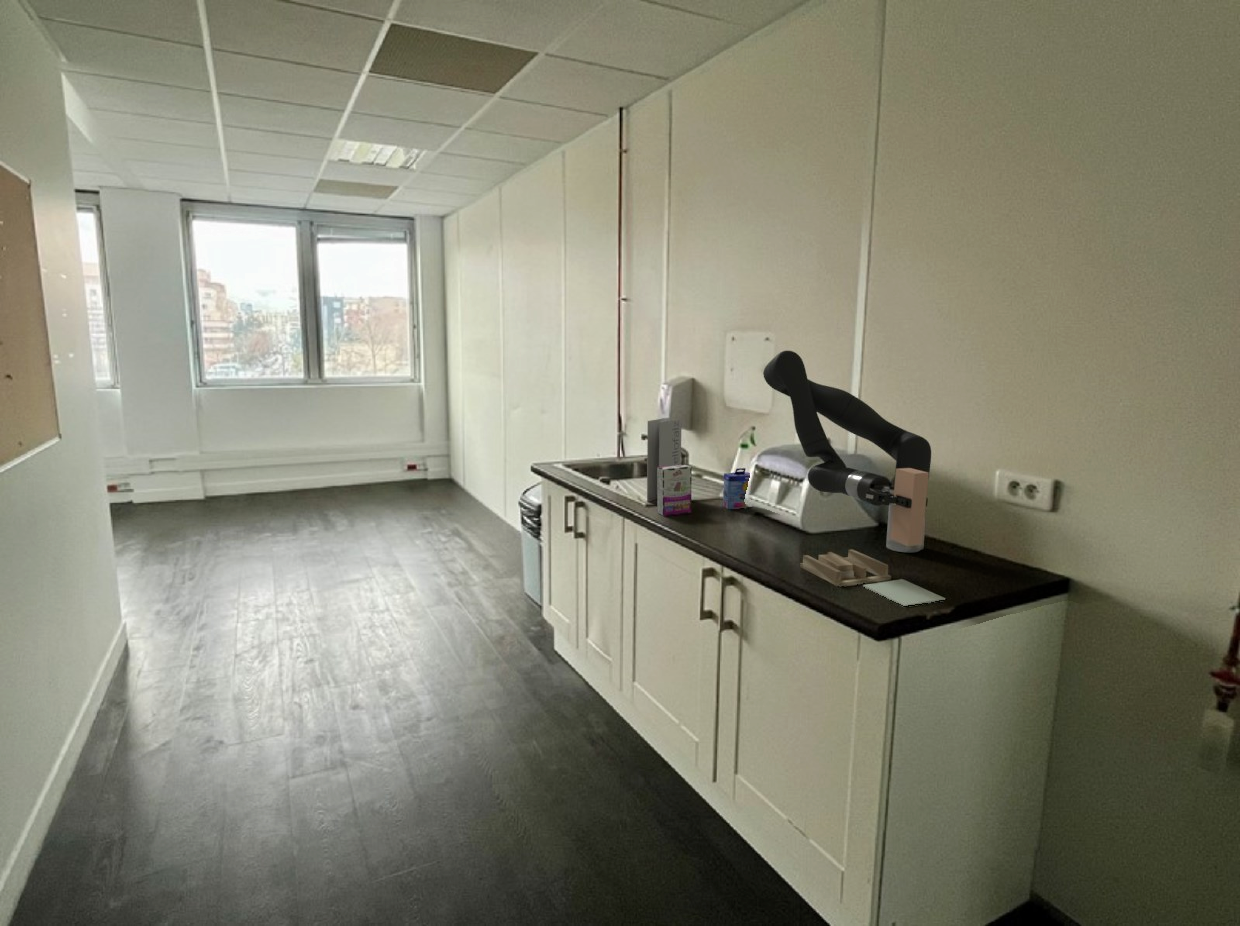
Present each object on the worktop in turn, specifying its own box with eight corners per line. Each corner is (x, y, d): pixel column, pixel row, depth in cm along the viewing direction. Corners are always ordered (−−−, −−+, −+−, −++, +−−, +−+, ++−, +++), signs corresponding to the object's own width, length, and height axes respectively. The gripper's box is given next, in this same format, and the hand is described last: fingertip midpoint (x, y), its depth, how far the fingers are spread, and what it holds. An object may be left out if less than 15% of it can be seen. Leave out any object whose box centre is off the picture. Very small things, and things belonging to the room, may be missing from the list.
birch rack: (848, 560, 192) (849, 548, 191) (890, 579, 177) (891, 566, 176) (799, 566, 187) (800, 554, 186) (839, 587, 172) (840, 573, 171)
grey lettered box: (659, 504, 256) (660, 422, 251) (646, 502, 259) (647, 421, 254) (680, 497, 267) (681, 418, 262) (668, 495, 270) (669, 417, 265)
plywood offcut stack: (830, 568, 187) (831, 553, 186) (855, 582, 176) (856, 566, 175) (816, 569, 185) (816, 554, 185) (839, 583, 175) (840, 567, 174)
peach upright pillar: (903, 537, 169) (909, 467, 166) (921, 544, 163) (928, 472, 160) (889, 538, 167) (896, 468, 164) (908, 546, 162) (914, 473, 159)
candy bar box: (684, 510, 248) (685, 464, 245) (691, 513, 243) (692, 466, 240) (656, 513, 243) (656, 466, 240) (662, 516, 239) (663, 468, 236)
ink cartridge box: (727, 509, 248) (729, 469, 245) (721, 506, 253) (723, 466, 250) (753, 508, 250) (755, 468, 248) (747, 504, 255) (748, 465, 253)
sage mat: (902, 581, 176) (902, 579, 176) (945, 600, 163) (945, 598, 163) (862, 586, 172) (863, 584, 172) (904, 607, 159) (904, 605, 159)
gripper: (845, 474, 174) (894, 489, 158) (892, 471, 178) (944, 485, 163) (843, 504, 175) (892, 521, 159) (889, 500, 180) (941, 516, 164)
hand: (918, 503), depth 161 cm, fingers closed on peach upright pillar, 4 cm apart
